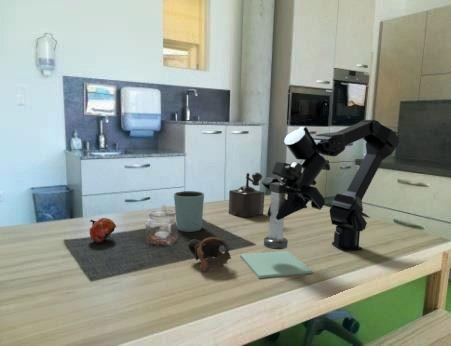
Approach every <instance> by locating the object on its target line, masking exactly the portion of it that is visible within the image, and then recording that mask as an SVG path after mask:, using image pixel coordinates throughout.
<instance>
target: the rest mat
mask: <svg viewBox="0 0 451 346" xmlns="http://www.w3.org/2000/svg"><path fill="white" fill-rule="evenodd" d="M239 257H240V259H242V261H243V262H244V263H245V264H246V266H247V267H248V268H249V269H250V270H251V271H252V272H253V273H254V274H255V276H256V277H257V279H263V278H275V277H283V276H293V275H295V276H296V275H305V274H312V273H313V270H312V269H311V268H310V267H308V266H307V265H306V264H305V263H303V262H302V261H301V260H299V258H297V256H294V255H293V254H292V253H290V252H289V251H288V250H281V251H269V252H254V253H243V254H240V253H239Z"/></svg>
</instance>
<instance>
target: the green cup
mask: <svg viewBox="0 0 451 346" xmlns="http://www.w3.org/2000/svg"><path fill="white" fill-rule="evenodd" d="M173 199H174V209H175V210H174V211H175V220H176V221H175V222H176V223H177V225H176V229H177V230H178V231H180V232H186V233H187V232H188V233H190V232H198V231H200V230H202V227H203V213H204V212H203V211H204V201H205V200H204V199H205V193H204V192H202V191H195V190H188V191H187V190H186V191H184V190H183V191H179V192H175V193H174V194H173Z"/></svg>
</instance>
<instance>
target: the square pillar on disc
mask: <svg viewBox="0 0 451 346" xmlns="http://www.w3.org/2000/svg"><path fill="white" fill-rule="evenodd" d="M269 191H271V194H270V203H271V204H270V203H269V207H270V217H269V230H268V231H269V232H268V233H269V235H268V236H265V237H264V238H263V247H265V248H266V249H269V250H284V249H287V248H288V243H289V242H288V239H287V238H285V237H284V225H285V224H284V222H285V217H284V218H282V219H280V220H277V219H276V216H277V214H278V212H279V211H280V209H281V208H282V206H283V205H284V202H285V198H286V196H285V193H287V185H286V184H285V183H283V182H282V183H281V182H280V183H278V182H277V183H270V187H269Z"/></svg>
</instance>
